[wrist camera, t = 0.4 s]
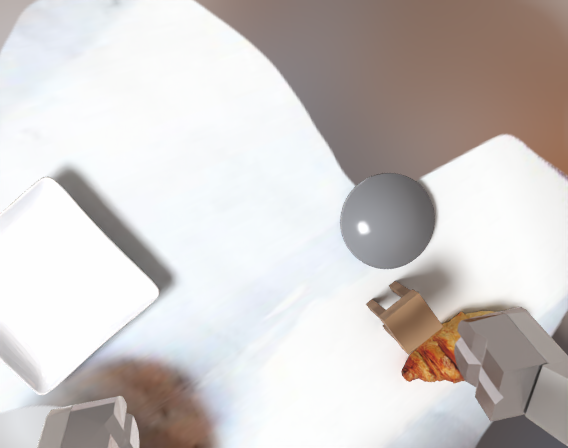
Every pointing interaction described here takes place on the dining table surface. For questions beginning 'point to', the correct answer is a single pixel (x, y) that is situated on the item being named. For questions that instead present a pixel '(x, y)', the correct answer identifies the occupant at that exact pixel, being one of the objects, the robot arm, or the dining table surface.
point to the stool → (407, 318)
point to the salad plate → (61, 286)
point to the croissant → (438, 354)
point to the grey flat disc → (387, 220)
